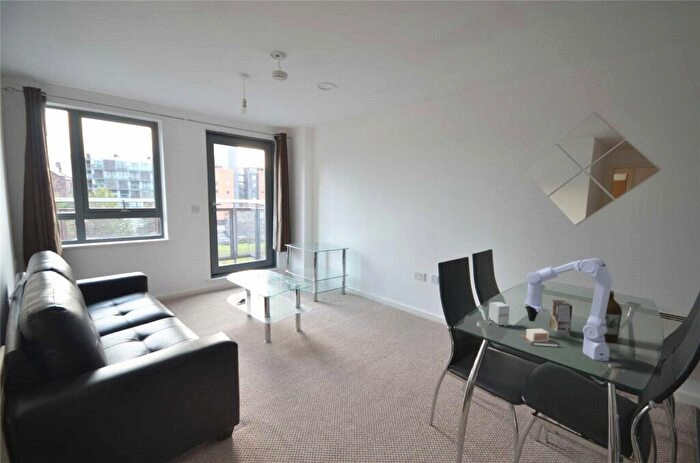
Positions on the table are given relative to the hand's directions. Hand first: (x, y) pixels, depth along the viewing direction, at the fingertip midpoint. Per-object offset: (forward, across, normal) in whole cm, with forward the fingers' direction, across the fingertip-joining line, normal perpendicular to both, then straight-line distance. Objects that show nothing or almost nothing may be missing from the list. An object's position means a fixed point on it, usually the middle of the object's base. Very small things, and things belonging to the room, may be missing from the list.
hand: (531, 320), depth 156 cm
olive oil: (+8, -2, +37) cm, 38 cm away
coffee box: (+8, -7, +18) cm, 21 cm away
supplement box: (+8, -10, -12) cm, 18 cm away
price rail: (+6, +15, 0) cm, 16 cm away
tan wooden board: (+8, +9, 0) cm, 12 cm away
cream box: (+6, +8, -1) cm, 11 cm away
